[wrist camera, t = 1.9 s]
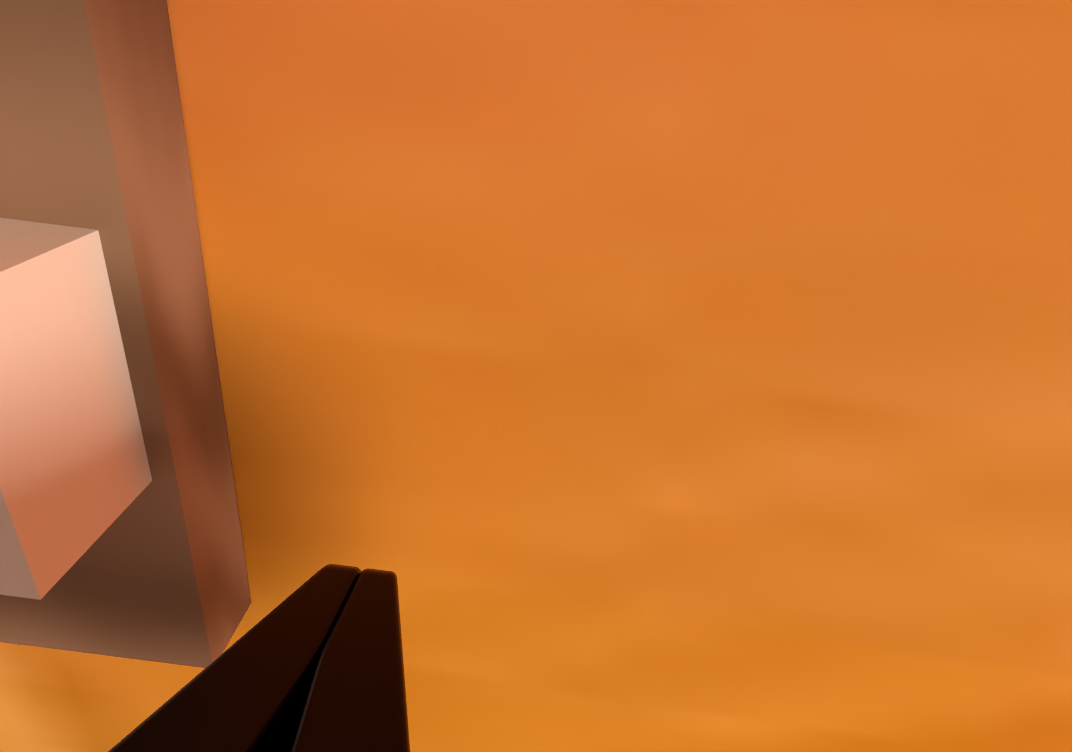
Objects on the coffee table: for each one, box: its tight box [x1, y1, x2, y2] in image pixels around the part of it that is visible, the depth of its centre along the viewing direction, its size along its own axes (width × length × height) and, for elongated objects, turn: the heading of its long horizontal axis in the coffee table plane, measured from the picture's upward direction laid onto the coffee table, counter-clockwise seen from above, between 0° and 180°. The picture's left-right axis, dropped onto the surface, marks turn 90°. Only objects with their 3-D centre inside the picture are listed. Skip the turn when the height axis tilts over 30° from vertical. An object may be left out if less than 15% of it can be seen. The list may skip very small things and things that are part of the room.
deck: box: [0, 0, 251, 668], centre depth 12 cm, size 16×6×2 cm, turn 174°
